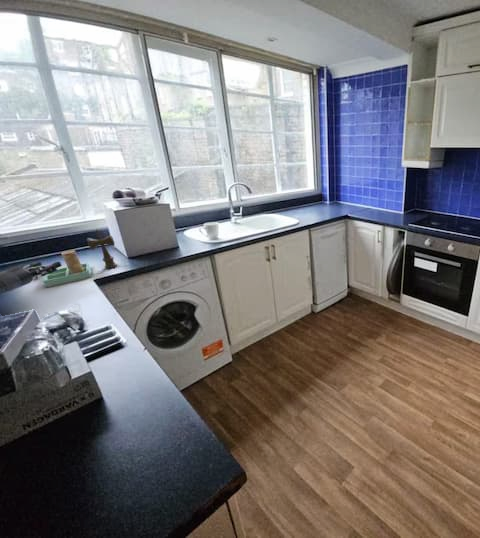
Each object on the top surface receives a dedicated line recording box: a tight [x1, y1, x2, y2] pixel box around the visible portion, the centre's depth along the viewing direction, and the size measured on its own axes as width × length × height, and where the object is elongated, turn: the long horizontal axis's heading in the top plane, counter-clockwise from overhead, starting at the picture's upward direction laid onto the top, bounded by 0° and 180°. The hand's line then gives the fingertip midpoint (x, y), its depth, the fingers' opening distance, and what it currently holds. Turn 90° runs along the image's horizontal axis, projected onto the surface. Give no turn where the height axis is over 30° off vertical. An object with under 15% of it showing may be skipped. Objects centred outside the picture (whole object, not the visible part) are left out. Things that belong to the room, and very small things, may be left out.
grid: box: [42, 262, 92, 288], centre depth 140 cm, size 15×15×3 cm
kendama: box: [86, 229, 118, 269], centre depth 147 cm, size 6×10×20 cm, turn 127°
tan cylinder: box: [60, 250, 84, 274], centre depth 138 cm, size 5×5×12 cm
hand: (50, 263), depth 128 cm, fingers open, 8 cm apart
